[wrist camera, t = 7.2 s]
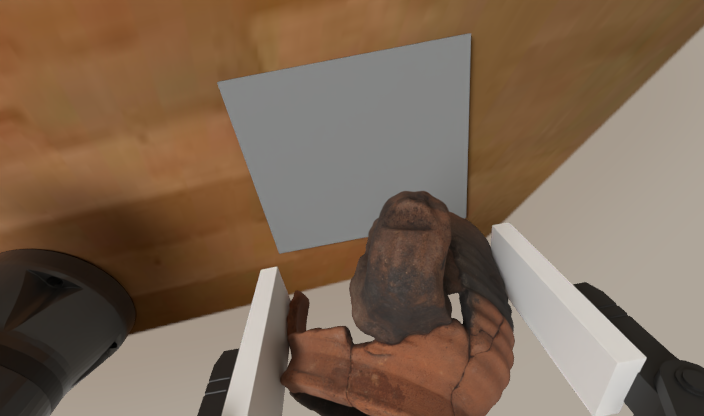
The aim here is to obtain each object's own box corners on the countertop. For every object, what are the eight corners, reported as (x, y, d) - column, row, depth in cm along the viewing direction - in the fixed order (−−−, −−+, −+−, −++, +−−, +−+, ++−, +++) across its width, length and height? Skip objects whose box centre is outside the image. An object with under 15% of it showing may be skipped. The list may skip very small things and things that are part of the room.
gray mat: (279, 250, 32) (279, 253, 32) (219, 81, 24) (217, 82, 23) (463, 214, 32) (466, 217, 32) (467, 33, 24) (471, 33, 23)
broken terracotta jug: (495, 306, 18) (491, 489, 12) (345, 275, 21) (292, 411, 16) (556, 121, 9) (627, 451, 4) (289, 119, 12) (137, 299, 7)
